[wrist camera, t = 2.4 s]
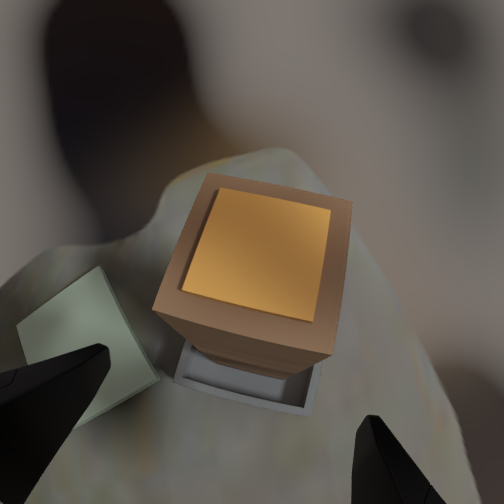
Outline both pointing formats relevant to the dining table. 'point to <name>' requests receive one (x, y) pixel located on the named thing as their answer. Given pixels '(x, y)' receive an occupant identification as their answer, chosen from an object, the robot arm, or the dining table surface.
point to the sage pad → (90, 338)
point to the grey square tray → (248, 383)
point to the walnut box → (258, 275)
